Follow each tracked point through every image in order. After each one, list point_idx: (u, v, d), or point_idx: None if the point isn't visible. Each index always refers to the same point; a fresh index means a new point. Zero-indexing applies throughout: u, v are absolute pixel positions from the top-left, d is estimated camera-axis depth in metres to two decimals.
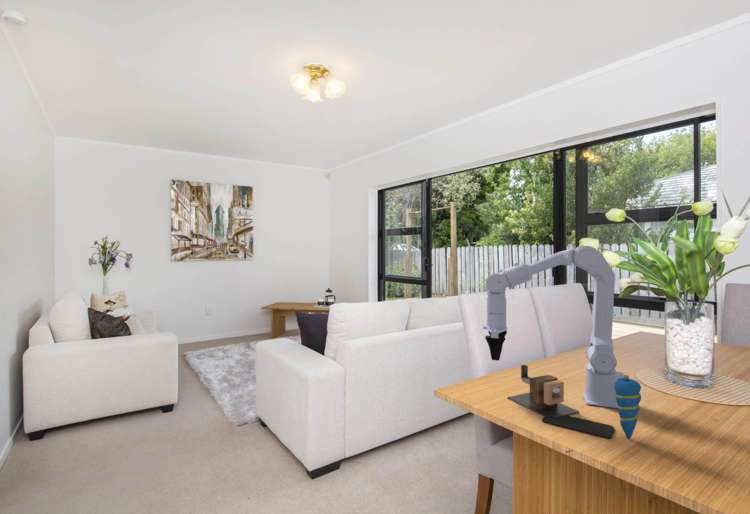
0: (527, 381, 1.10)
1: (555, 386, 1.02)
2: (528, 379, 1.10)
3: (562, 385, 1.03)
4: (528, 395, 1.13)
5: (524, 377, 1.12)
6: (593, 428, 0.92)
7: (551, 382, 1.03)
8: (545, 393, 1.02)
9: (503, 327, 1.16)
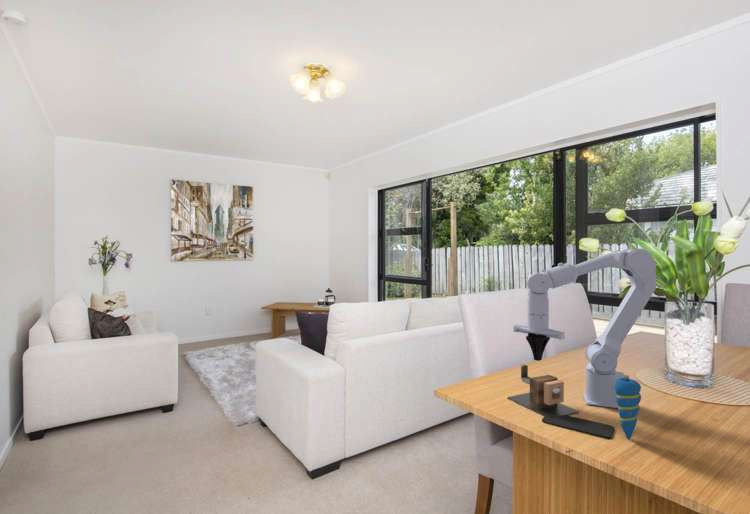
0: (527, 381, 1.10)
1: (555, 386, 1.02)
2: (528, 379, 1.10)
3: (562, 385, 1.03)
4: (528, 395, 1.13)
5: (524, 377, 1.12)
6: (593, 428, 0.92)
7: (551, 382, 1.03)
8: (545, 393, 1.02)
9: (528, 327, 1.14)
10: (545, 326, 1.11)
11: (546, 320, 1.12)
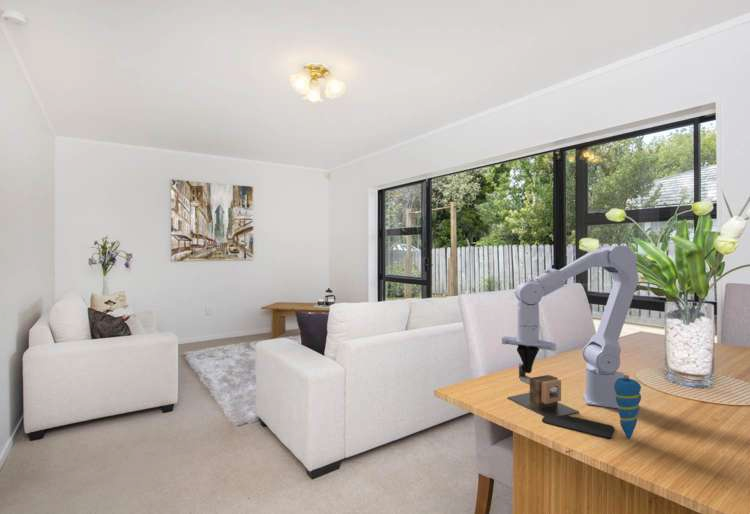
0: (525, 380, 1.11)
1: (552, 385, 1.03)
2: (526, 378, 1.11)
3: (559, 384, 1.04)
4: (528, 395, 1.13)
5: (522, 376, 1.12)
6: (593, 428, 0.92)
7: (548, 381, 1.04)
8: (542, 391, 1.03)
9: (519, 339, 1.10)
10: (537, 337, 1.09)
11: (537, 331, 1.09)
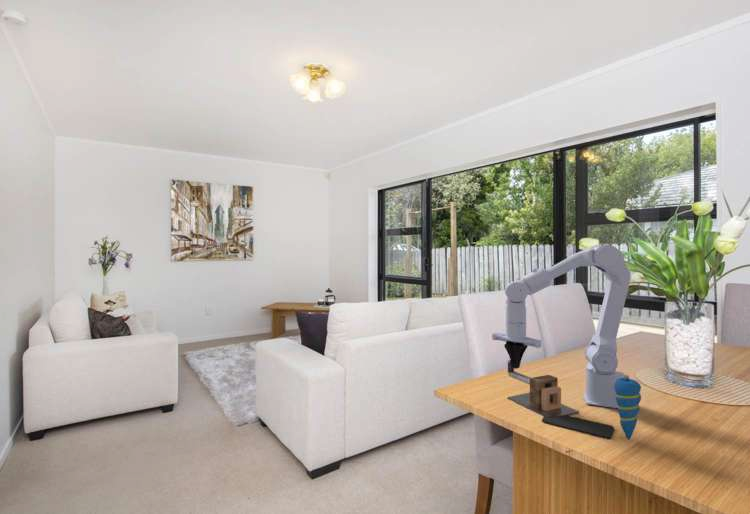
0: (513, 375, 1.15)
1: (552, 392, 1.03)
2: (514, 373, 1.15)
3: (559, 391, 1.04)
4: (528, 395, 1.13)
5: (510, 372, 1.17)
6: (593, 428, 0.92)
7: (548, 388, 1.04)
8: (542, 399, 1.03)
9: (506, 335, 1.15)
10: (523, 334, 1.13)
11: (524, 328, 1.13)
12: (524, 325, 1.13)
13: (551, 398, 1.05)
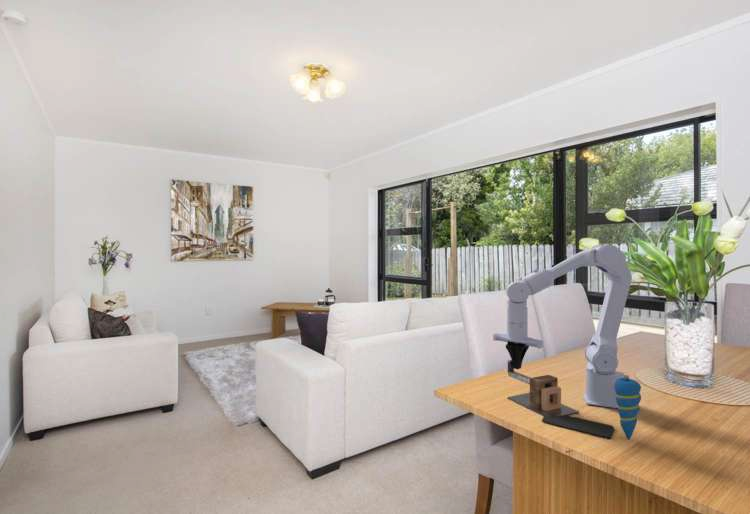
0: (513, 375, 1.15)
1: (552, 392, 1.03)
2: (514, 373, 1.15)
3: (559, 391, 1.04)
4: (528, 395, 1.13)
5: (510, 372, 1.17)
6: (593, 428, 0.92)
7: (548, 388, 1.04)
8: (542, 399, 1.03)
9: (507, 336, 1.15)
10: (524, 334, 1.12)
11: (525, 329, 1.13)
12: (525, 325, 1.13)
13: (551, 398, 1.05)
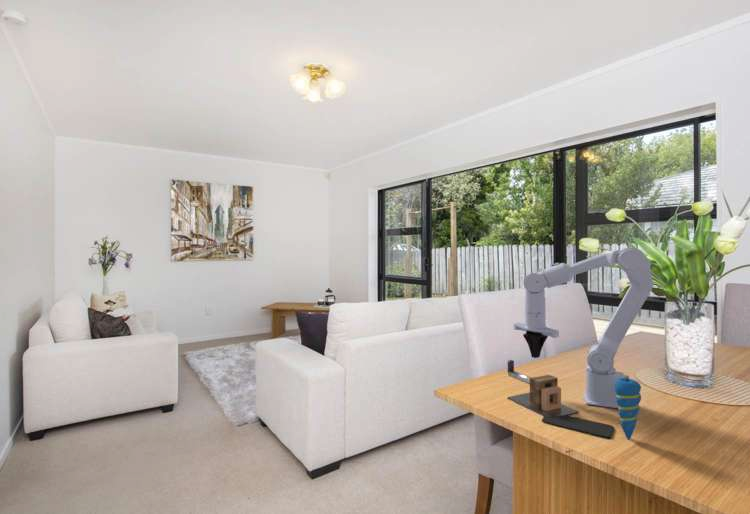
0: (513, 375, 1.15)
1: (552, 392, 1.03)
2: (514, 373, 1.15)
3: (559, 391, 1.04)
4: (528, 395, 1.13)
5: (510, 372, 1.17)
6: (593, 428, 0.92)
7: (548, 388, 1.04)
8: (542, 399, 1.03)
9: (525, 325, 1.18)
10: (541, 324, 1.15)
11: (542, 318, 1.15)
12: (542, 315, 1.15)
13: (551, 398, 1.05)
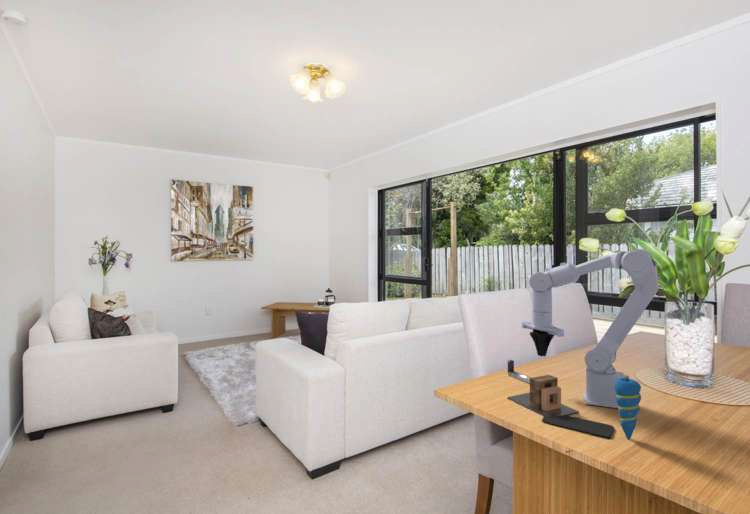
0: (513, 375, 1.15)
1: (552, 392, 1.03)
2: (514, 373, 1.15)
3: (559, 391, 1.04)
4: (528, 395, 1.13)
5: (510, 372, 1.17)
6: (593, 428, 0.92)
7: (548, 388, 1.04)
8: (542, 399, 1.03)
9: (531, 324, 1.20)
10: (547, 323, 1.16)
11: (547, 317, 1.16)
12: (548, 314, 1.16)
13: (551, 398, 1.05)
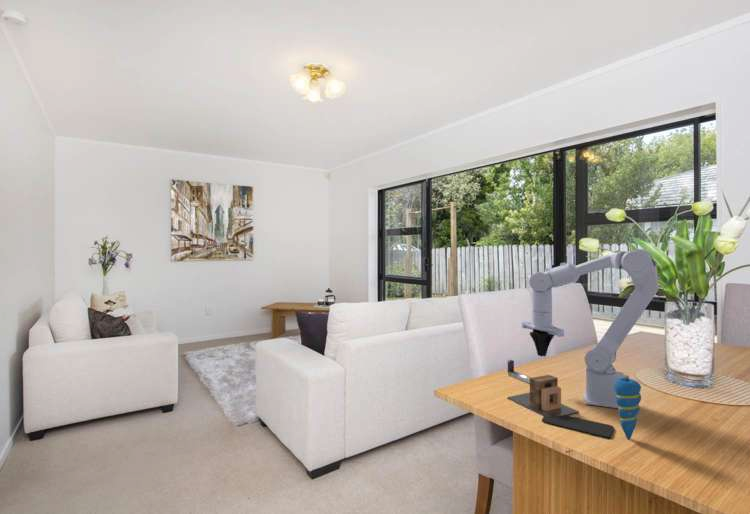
0: (513, 375, 1.15)
1: (552, 392, 1.03)
2: (514, 373, 1.15)
3: (559, 391, 1.04)
4: (528, 395, 1.13)
5: (510, 372, 1.17)
6: (593, 428, 0.92)
7: (548, 388, 1.04)
8: (542, 399, 1.03)
9: (531, 324, 1.20)
10: (547, 323, 1.16)
11: (547, 317, 1.16)
12: (548, 314, 1.16)
13: (551, 398, 1.05)
